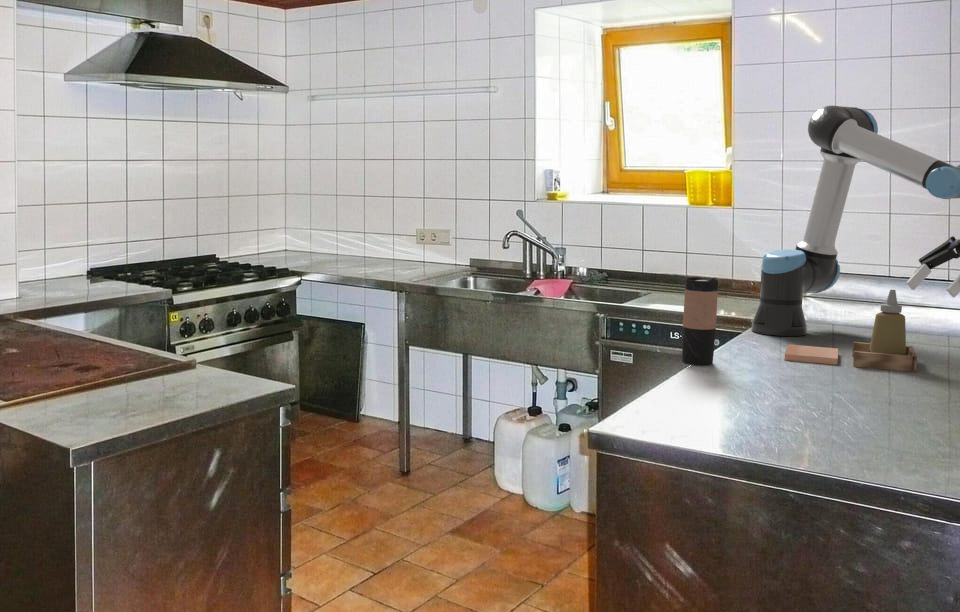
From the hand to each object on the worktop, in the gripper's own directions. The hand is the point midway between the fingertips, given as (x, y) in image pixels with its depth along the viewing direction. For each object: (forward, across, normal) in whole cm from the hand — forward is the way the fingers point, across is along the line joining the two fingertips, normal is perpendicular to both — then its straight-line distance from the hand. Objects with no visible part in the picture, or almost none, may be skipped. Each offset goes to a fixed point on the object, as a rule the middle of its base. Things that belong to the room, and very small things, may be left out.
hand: (929, 289), depth 216 cm
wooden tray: (+20, +1, -5) cm, 21 cm away
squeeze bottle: (+20, 0, -6) cm, 21 cm away
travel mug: (+52, +8, +27) cm, 59 cm away
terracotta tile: (+29, +10, +4) cm, 31 cm away
